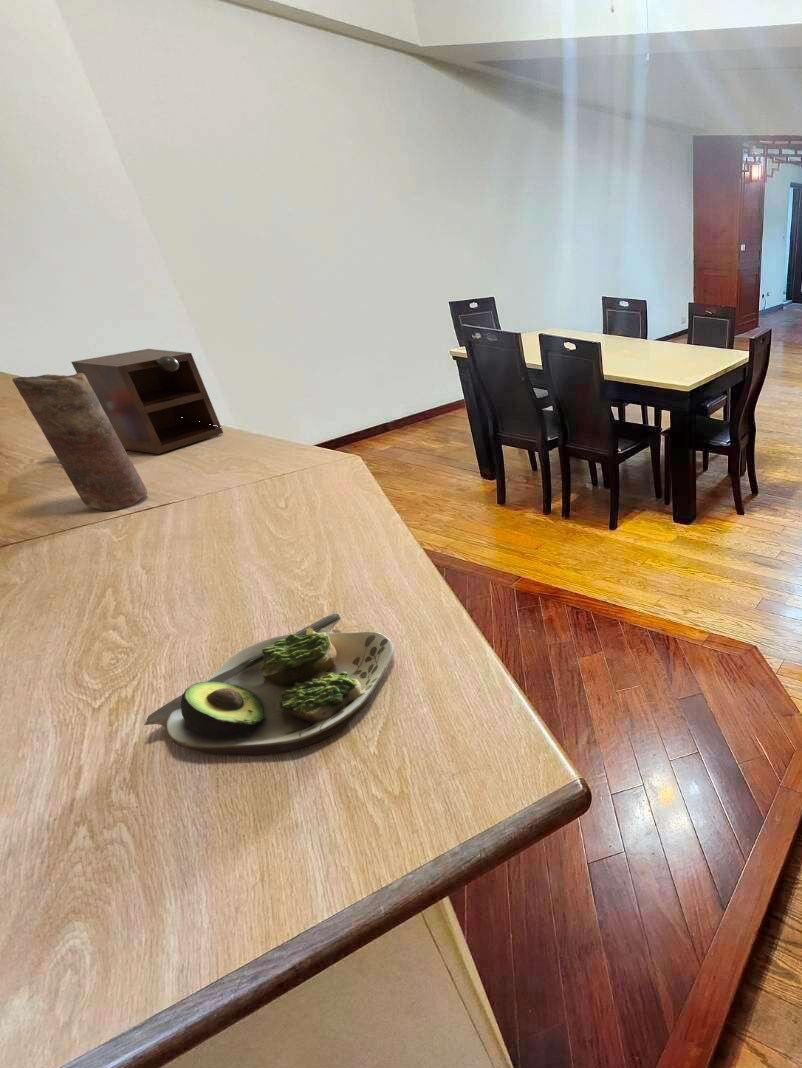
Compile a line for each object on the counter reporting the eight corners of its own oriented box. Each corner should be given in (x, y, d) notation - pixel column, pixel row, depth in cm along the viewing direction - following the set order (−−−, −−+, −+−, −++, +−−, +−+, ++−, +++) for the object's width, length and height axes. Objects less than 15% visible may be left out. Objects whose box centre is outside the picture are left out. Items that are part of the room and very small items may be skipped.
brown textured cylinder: (72, 508, 91) (-4, 377, 81) (125, 490, 97) (61, 366, 87) (110, 515, 89) (38, 382, 80) (161, 496, 96) (100, 371, 86)
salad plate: (267, 626, 68) (252, 593, 66) (426, 626, 69) (417, 593, 67) (125, 760, 51) (98, 722, 49) (338, 757, 52) (322, 720, 50)
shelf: (68, 357, 103) (133, 363, 101) (146, 344, 114) (206, 350, 112) (114, 448, 112) (175, 456, 110) (183, 428, 123) (239, 434, 121)
